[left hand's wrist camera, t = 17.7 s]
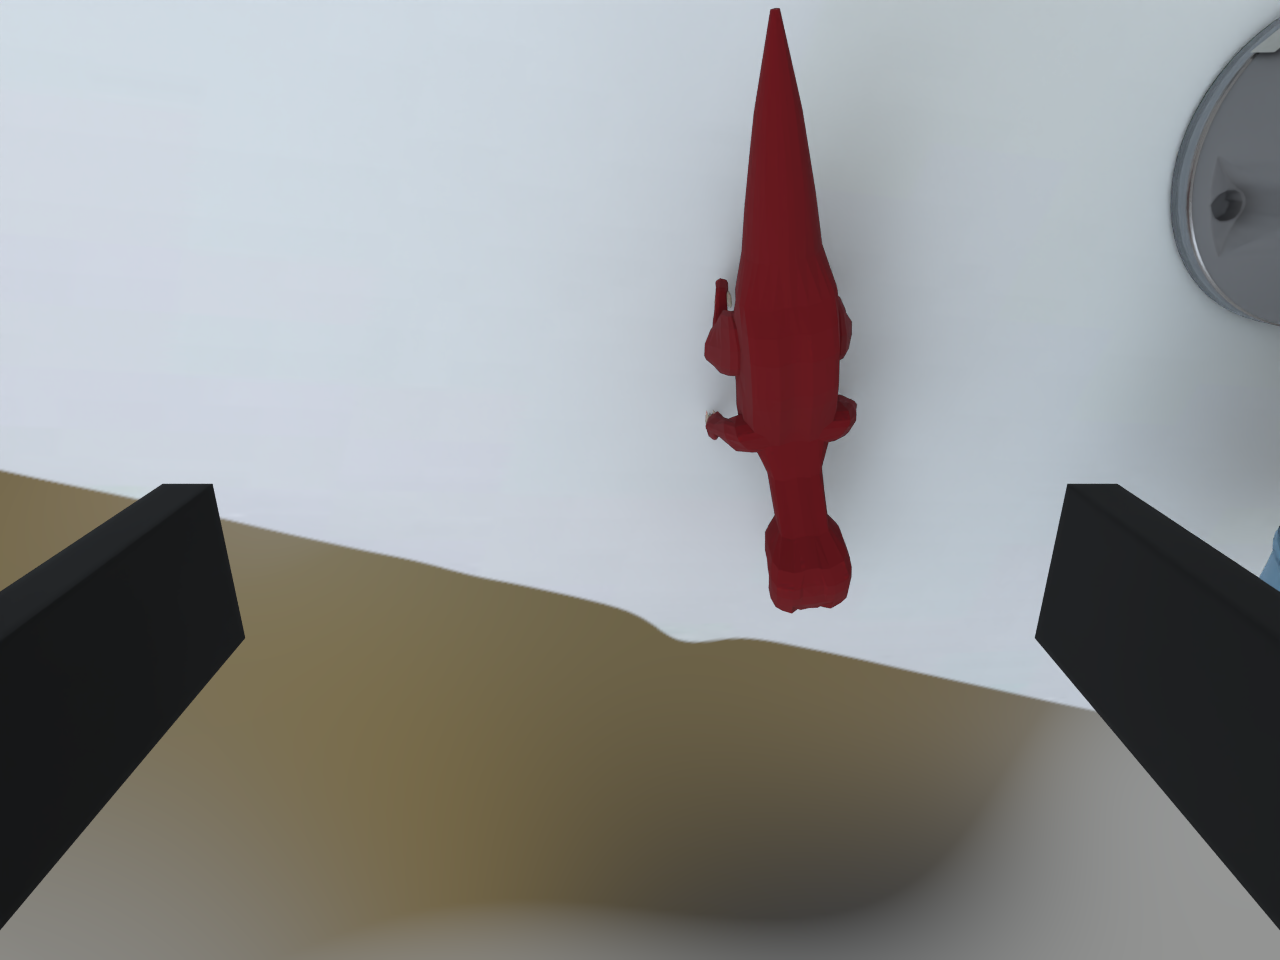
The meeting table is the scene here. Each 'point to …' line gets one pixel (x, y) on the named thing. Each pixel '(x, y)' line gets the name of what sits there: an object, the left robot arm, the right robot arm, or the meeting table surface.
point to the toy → (786, 344)
